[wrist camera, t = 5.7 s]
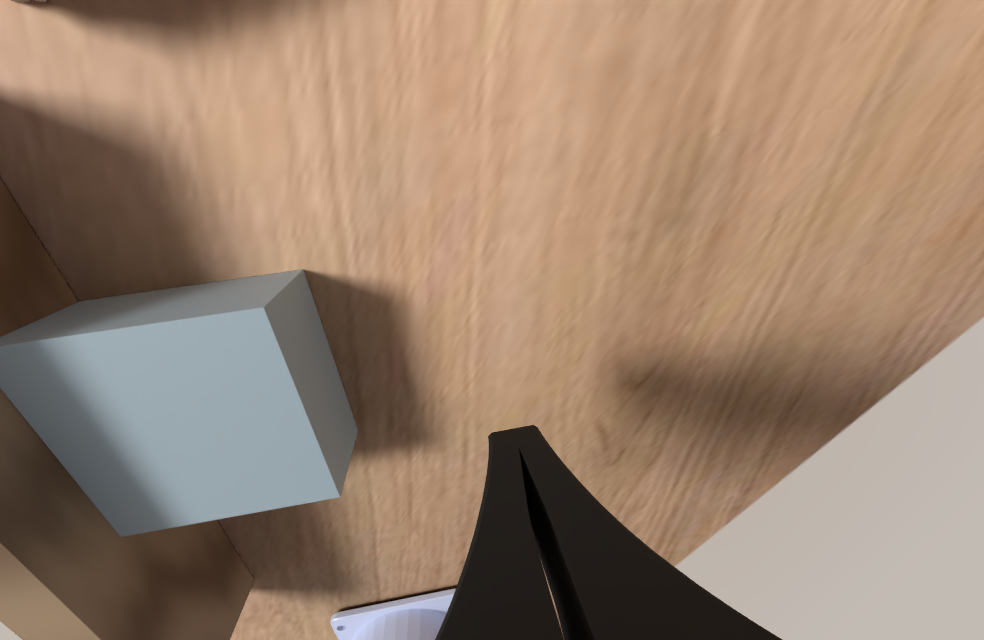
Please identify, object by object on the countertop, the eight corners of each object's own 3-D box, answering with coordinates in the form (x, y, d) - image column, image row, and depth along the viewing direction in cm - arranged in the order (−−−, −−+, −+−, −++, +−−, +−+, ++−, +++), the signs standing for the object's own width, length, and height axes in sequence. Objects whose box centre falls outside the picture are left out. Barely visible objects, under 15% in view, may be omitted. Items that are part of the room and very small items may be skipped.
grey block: (359, 427, 18) (340, 497, 15) (184, 457, 18) (120, 537, 14) (305, 267, 15) (263, 307, 11) (87, 298, 14) (-30, 350, 11)
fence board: (254, 580, 21) (192, 728, 16) (217, 587, 21) (142, 739, 16) (-66, 73, 11) (-554, 9, 6) (-143, 82, 11) (-719, 24, 5)
